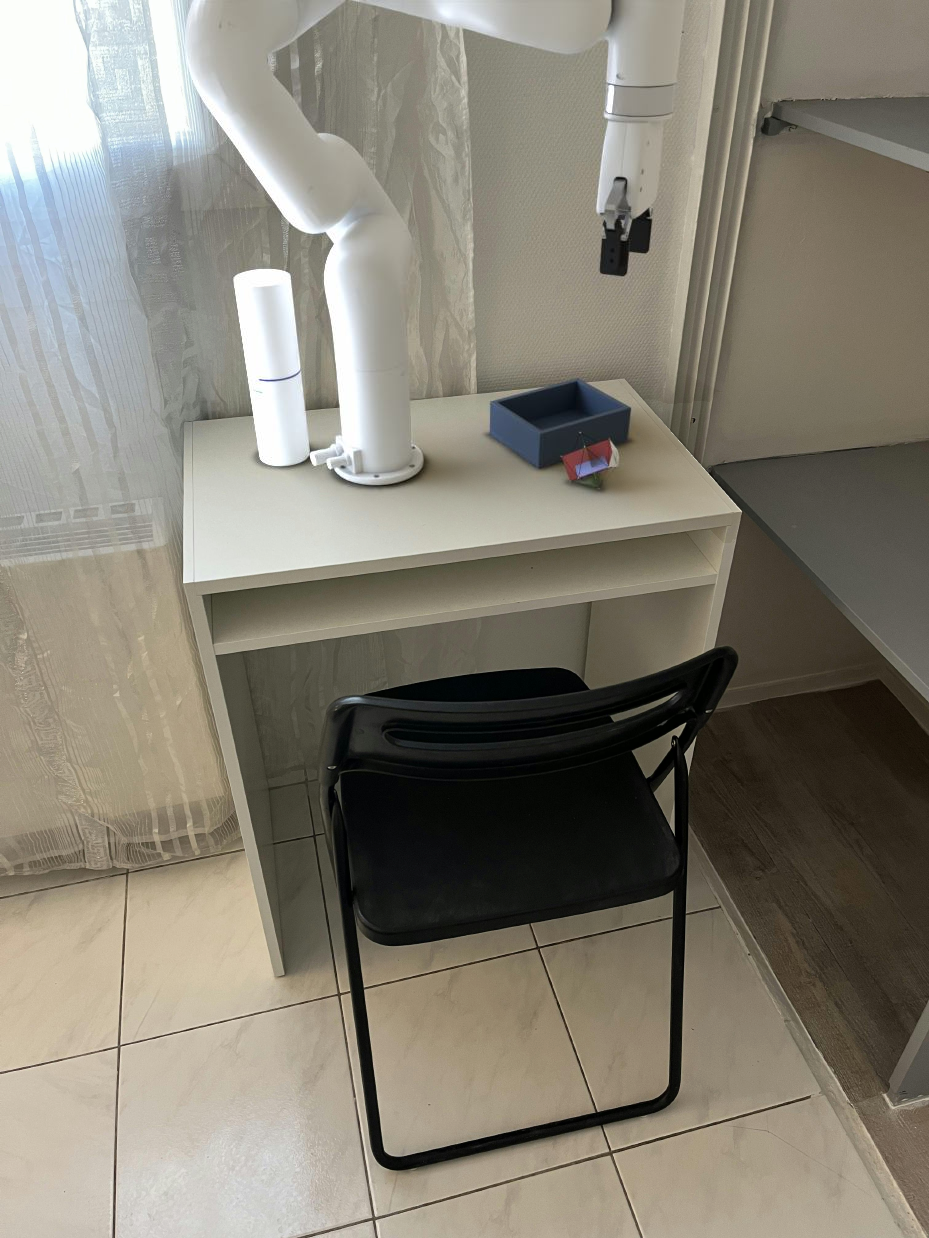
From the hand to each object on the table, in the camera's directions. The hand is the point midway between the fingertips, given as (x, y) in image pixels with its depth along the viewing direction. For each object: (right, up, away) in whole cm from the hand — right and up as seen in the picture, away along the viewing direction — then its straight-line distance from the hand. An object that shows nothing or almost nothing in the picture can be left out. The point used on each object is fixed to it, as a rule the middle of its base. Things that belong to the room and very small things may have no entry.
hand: (624, 263), depth 112 cm
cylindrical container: (-45, -19, +22) cm, 54 cm away
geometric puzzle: (-2, -24, +16) cm, 29 cm away
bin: (-5, -16, +26) cm, 31 cm away
